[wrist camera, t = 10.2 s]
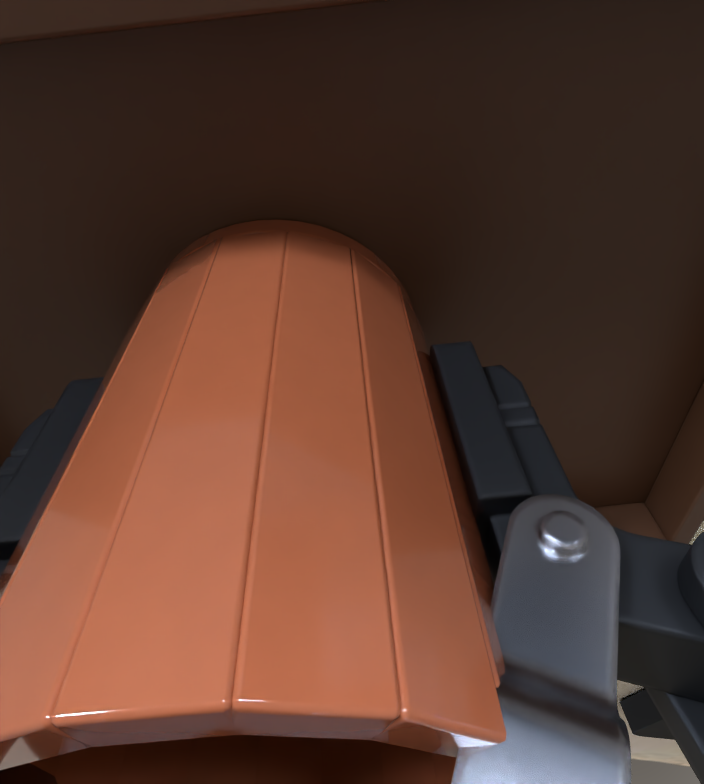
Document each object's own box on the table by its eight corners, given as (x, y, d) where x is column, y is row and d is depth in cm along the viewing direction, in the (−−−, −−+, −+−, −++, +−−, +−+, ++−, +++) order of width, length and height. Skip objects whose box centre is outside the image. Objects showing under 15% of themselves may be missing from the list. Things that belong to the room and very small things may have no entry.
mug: (98, 235, 9) (-326, 759, 3) (417, 201, 9) (612, 675, 3) (217, 508, 15) (145, 893, 9) (418, 489, 15) (489, 865, 8)
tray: (68, 550, 17) (41, 612, 15) (-367, 25, 7) (-553, 42, 6) (648, 495, 16) (684, 553, 15) (948, -127, 7) (1129, -153, 6)
